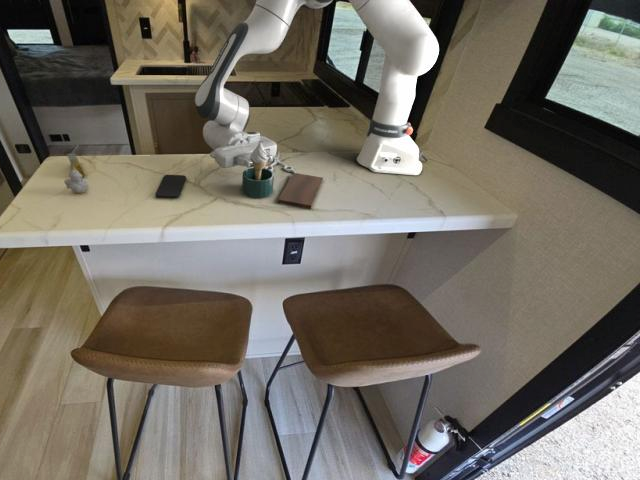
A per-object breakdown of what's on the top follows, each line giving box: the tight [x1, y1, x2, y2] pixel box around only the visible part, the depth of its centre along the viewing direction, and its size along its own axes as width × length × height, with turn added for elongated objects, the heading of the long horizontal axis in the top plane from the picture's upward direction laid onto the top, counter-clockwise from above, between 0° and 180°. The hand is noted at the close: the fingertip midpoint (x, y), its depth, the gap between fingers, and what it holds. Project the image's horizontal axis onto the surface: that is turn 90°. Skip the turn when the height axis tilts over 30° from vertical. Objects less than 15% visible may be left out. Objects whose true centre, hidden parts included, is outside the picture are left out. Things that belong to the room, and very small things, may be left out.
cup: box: [241, 167, 275, 199], centre depth 104 cm, size 10×10×6 cm
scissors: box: [264, 150, 297, 174], centre depth 122 cm, size 11×1×20 cm
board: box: [277, 172, 324, 210], centre depth 106 cm, size 10×20×1 cm, turn 160°
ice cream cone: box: [250, 141, 268, 180], centre depth 101 cm, size 6×6×15 cm
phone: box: [154, 174, 187, 199], centre depth 107 cm, size 7×1×15 cm
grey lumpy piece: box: [63, 166, 89, 194], centre depth 101 cm, size 5×7×8 cm
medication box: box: [67, 152, 86, 177], centre depth 113 cm, size 12×3×4 cm, turn 28°
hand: (260, 161), depth 99 cm, fingers open, 6 cm apart
